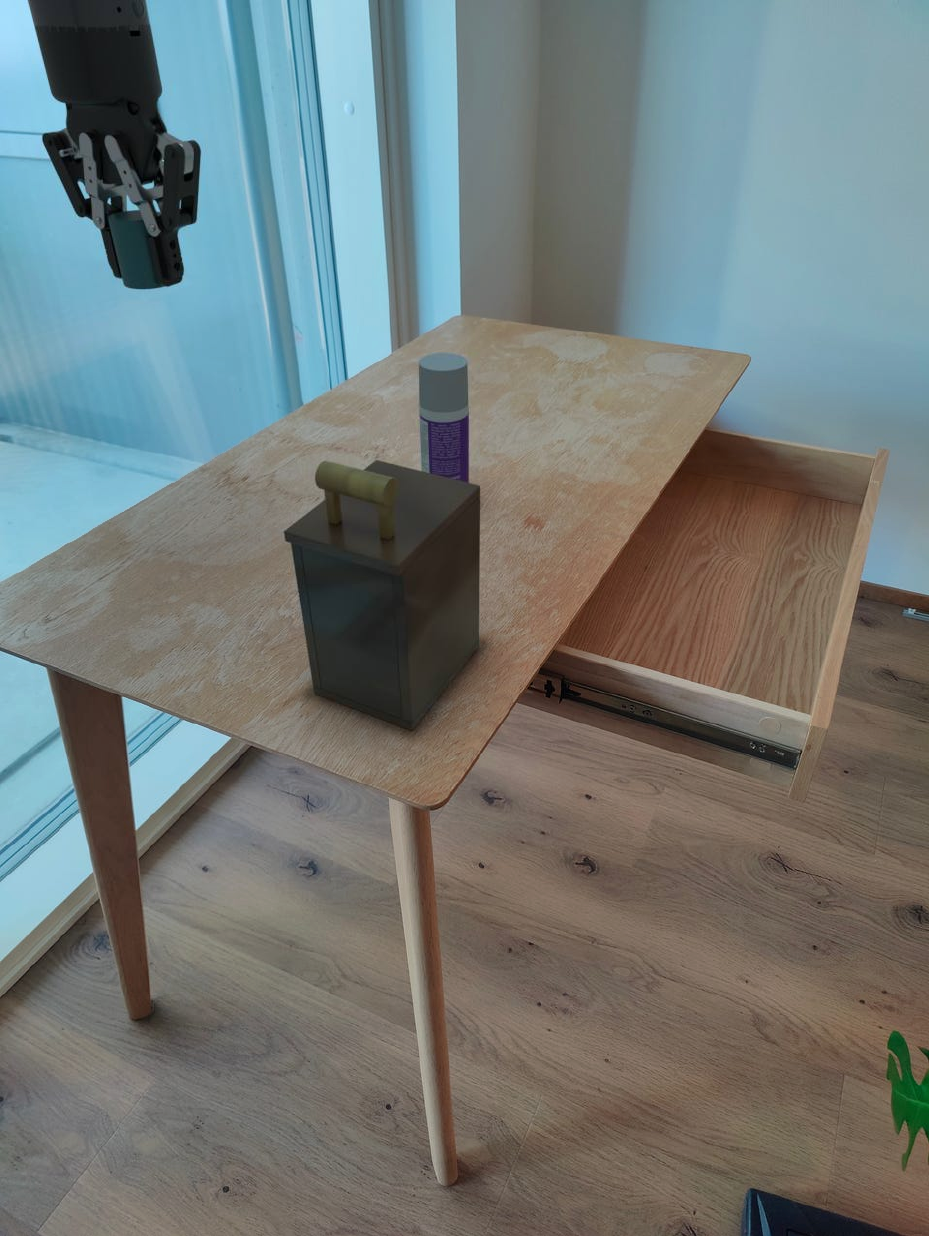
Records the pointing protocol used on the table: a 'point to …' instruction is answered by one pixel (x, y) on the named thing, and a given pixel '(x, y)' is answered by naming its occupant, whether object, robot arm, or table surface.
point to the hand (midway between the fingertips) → (149, 279)
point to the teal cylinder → (133, 249)
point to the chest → (392, 624)
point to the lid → (380, 513)
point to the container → (444, 415)
